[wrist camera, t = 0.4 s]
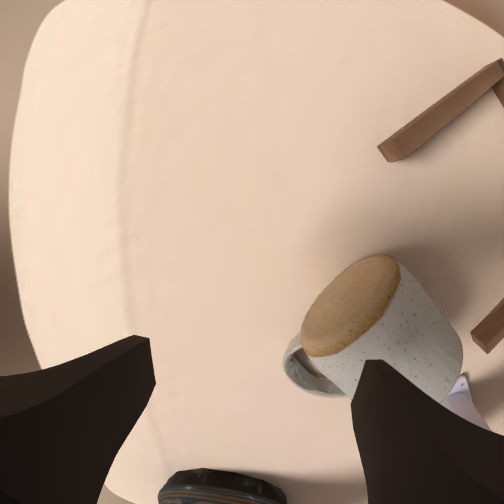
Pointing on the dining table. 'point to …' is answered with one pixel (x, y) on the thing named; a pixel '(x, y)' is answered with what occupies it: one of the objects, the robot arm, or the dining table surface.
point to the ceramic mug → (375, 332)
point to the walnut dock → (425, 126)
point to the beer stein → (218, 489)
